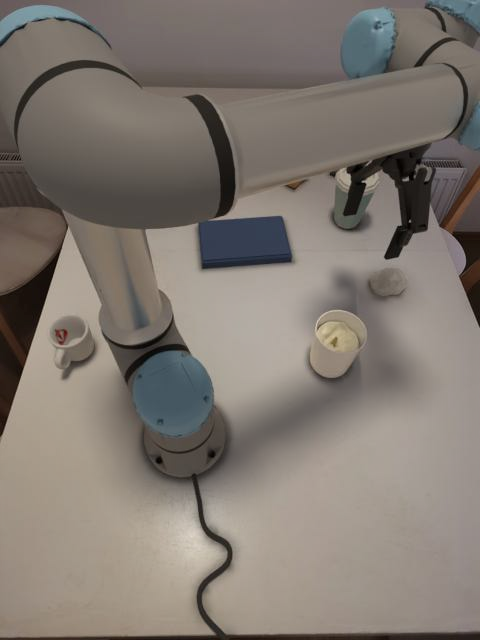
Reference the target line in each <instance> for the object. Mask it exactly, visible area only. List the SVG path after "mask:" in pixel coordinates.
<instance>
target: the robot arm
mask: <svg viewBox="0 0 480 640" xmlns="http://www.w3.org/2000/svg"><path fill="white" fill-rule="evenodd" d="M479 37H480V0H427V1H426V2H425V5H424V7H389V6H381V7H380V8H370V9H365V10H362V11H360V12H358V13H357V14H356V15H355V16H353V17H352V19H351V20H350V21H349V22H348V24H347V25H346V28H345V30H344V32H343V36H342V40H341V43H340V51H339V52H340V53H339V55H340V58H339V59H340V64H341V68H342V70H343V73H344V75H345V76H346V77H347V80H342V81H341V80H340V81H337V82H330V83H327V84H326V83H325V84H320V85H315V86H310V87H305V88H300V89H295V90H294V89H293V90H288V91H285V92H279V93H274V94H268V95H263V96H258V97H257V96H256V97H253V98H246V99H241V100H237V101H231V102H225V103H221V104H217V103H216V102H215V100H213V99H212V98H211V97H210V96H208V95H206V94H204V93H195V94H191V95H185V96H178V97H177V96H175V97H169V96H162V95H158V94H155V93H151V92H148V91H147V90H145V89H144V88H143V87H142V86H141V85H140V84H139V82H138V80H137V79H136V78H135V77H134V75H132V73H131V72H130V71H129V70H128V68H127V67H126V66H125V65H124V64H123V62H122V61H121V60H120V57H118V55H116V53H115V52H114V51H113V48H112V46H111V44H110V42H109V41H108V39H107V38H106V37H105V35H104V34H103V33H101V32H100V30H99V29H97V28H96V27H94V26H93V25H91V24H90V23H89V22H88V21H87V20H85V19H84V18H83V17H81V16H79V14H76V13H75V12H73V11H71V10H68V9H66V8H62V7H59V6H56V5H49V4H35V5H29V6H25V7H22V8H19V9H17V10H14V11H13V12H11V13H9V14H8V15H6V16H5V17H3V18H2V19H1V20H0V113H1V116H2V118H3V120H4V123H5V125H6V127H7V129H8V131H9V134H10V136H11V138H12V140H13V143H14V144H15V147H16V149H17V152H18V154H19V156H20V159H21V162H22V164H23V166H24V168H25V170H26V173H27V175H28V176H29V177H30V179H31V181H32V182H33V184H34V186H35V188H36V190H37V191H38V192H39V193H40V194H41V195H43V196H44V197H45V198H47V200H49V201H50V202H51V203H52V204H54V205H55V206H56V207H58V208H59V209H60V210H61V211H62V214H63V216H64V219H65V221H66V223H67V226H68V228H69V230H70V233H71V235H72V237H73V240H74V243H75V245H76V247H77V249H78V252H79V254H80V257H81V259H82V261H83V264H84V266H85V268H86V271H87V273H88V276H89V278H90V280H91V282H92V285H93V288H94V290H95V292H96V294H97V297H98V299H99V302H100V304H101V306H100V308H99V311H98V324H99V327H100V331H101V334H102V336H103V338H104V341H106V343H107V345H108V348H109V349H110V351H111V353H112V356H113V358H114V360H115V362H116V365H117V367H118V369H119V371H120V373H121V376H122V377H123V381H124V382H125V384H126V387H127V389H128V391H129V394H130V396H131V398H132V401H133V405H134V409H135V411H136V413H137V415H138V416H139V418H140V420H141V421H142V422H143V424H144V430H143V445H144V450H145V452H146V454H147V456H148V458H149V460H150V461H151V463H152V464H153V466H155V467H156V468H157V469H158V470H159V471H160V472H162V473H164V474H165V475H168V476H171V477H174V478H180V479H181V478H182V479H186V478H191V479H192V485H193V490H194V494H195V499H196V504H197V512H198V513H197V515H198V520H199V523H200V527H201V528H202V530H203V532H204V533H205V534H206V535H207V536H208V537H209V538H210V539H212V540H214V541H216V542H218V543H220V544H222V545H223V546H224V547H225V549H226V551H227V553H226V554H227V555H226V556H227V557H226V558H225V561H224V562H223V564H222V565H220V566H219V567H218V568H217V569H215V570H213V572H211V573H210V574H209V575H207V576H206V577H205V578H204V579H202V580H201V582H200V584H199V586H198V588H197V591H196V605H197V609H198V612H199V614H200V616H201V618H202V620H203V621H204V622H205V623H206V624H207V626H208V627H209V628H210V629H211V630H212V631H213V632H214V633H215V634H216V635H217V636H218V637H219V638H220V639H221V640H231V638H230V637H229V635H227V634H226V632H224V631H223V630H222V629H221V628H220V626H219V625H218V624H217V623H215V621H214V620H213V619H211V617H210V616H209V614H208V613H207V611H206V610H205V607H204V605H203V592H204V589H205V587H206V586H207V585H208V584H209V583H210V582H212V581H213V580H214V579H215V578H217V577H218V576H219V575H221V574H222V573H223V572H224V571H226V569H228V567H229V566H230V564H231V563H232V559H233V548H232V545H231V544H230V542H229V541H228V540H227V539H226V538H224V537H222V536H220V535H218V534H216V533H215V532H213V531H212V530H211V529H210V528H209V526H208V525H207V523H206V520H205V515H204V508H203V507H204V506H203V500H202V495H201V491H200V487H199V482H198V478H197V477H198V476H199V475H201V474H203V473H205V472H206V471H208V470H209V469H211V468H212V467H213V466H214V465H215V464H216V463H217V461H218V460H219V459H220V457H221V455H222V453H223V451H224V449H225V444H226V439H227V432H226V424H225V420H224V417H223V416H222V413H221V412H220V410H219V409H218V408H217V407H216V405H215V394H214V393H215V388H214V386H213V382H212V378H211V376H210V374H209V372H208V370H207V369H206V367H205V366H204V365H203V363H201V361H200V360H199V359H198V358H196V357H194V356H193V354H192V352H191V351H190V349H189V347H188V345H187V343H186V341H185V340H184V338H183V336H182V334H181V333H180V331H179V329H178V326H177V324H176V321H175V316H174V311H173V305H172V301H171V300H170V298H169V297H168V295H167V294H166V293H165V292H164V291H163V290H161V289H160V288H159V286H158V282H157V281H158V280H157V277H156V273H155V272H156V271H155V268H154V263H153V259H152V254H151V250H150V245H149V241H148V237H147V232H146V231H147V230H161V229H162V230H163V229H171V228H173V229H174V228H180V227H187V226H192V225H196V224H197V225H198V223H201V222H205V221H211V220H216V219H217V218H221V217H225V216H228V215H229V214H231V212H233V211H234V209H235V207H236V205H237V203H238V200H240V199H243V198H246V197H250V196H253V195H256V194H259V193H264V192H267V191H271V190H275V189H277V188H281V187H284V186H287V185H288V184H291V183H294V182H298V181H301V180H304V181H305V180H308V179H311V178H315V177H318V176H322V175H325V174H328V173H329V174H330V172H332V171H336V170H339V169H342V168H346V167H347V169H346V172H347V174H350V176H351V184H350V188H349V191H348V199H347V202H346V205H345V208H344V211H343V215H344V216H351V215H356V214H357V211H358V208H359V205H360V202H361V200H362V197H363V194H364V191H365V188H366V185H367V184H366V183H365V182H362V181H365V180H366V179H367V178H369V177H371V176H372V175H374V174H375V173H377V172H378V173H379V172H380V171H382V172H383V173H384V174H386V175H388V176H389V178H390V179H391V180H392V181H394V187H395V188H396V189H397V196H398V204H399V211H400V212H399V213H400V214H399V215H400V222H401V223H400V224H401V225H397V226H396V228H395V231H394V233H393V234H392V237H391V240H390V241H389V244H388V246H387V248H386V250H385V253H384V255H383V258H384V260H386V261H388V260H393V259H397V258H399V257H400V255H401V253H402V251H403V249H404V247H406V246H408V245H409V244H410V242H411V240H412V238H413V235H415V234H420V233H426V232H427V231H428V230H429V220H430V209H431V208H430V207H431V196H432V188H433V187H432V186H433V181H434V179H435V175H436V172H437V168H436V167H435V166H427V165H425V164H423V158H424V156H425V153H426V152H427V151H428V150H429V149H430V148H431V146H432V144H433V143H435V142H439V141H444V140H447V139H455V141H456V142H457V144H458V145H459V146H464V147H466V148H467V149H469V150H471V151H472V152H477V153H480V51H478V50H476V49H475V46H476V44H477V41H478V40H479ZM370 161H371V162H370ZM369 162H370V163H369ZM367 164H368V165H367ZM366 165H367V166H366ZM407 178H408V180H406V179H407ZM404 180H405V181H404Z"/></svg>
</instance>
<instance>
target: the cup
mask: <svg viewBox="0 0 480 640" xmlns="http://www.w3.org/2000/svg"><path fill="white" fill-rule="evenodd" d="M46 333H47V335H46V336H47V340H48V341H49V343H50V344H51V345H52V346H53V347H54V348H55V349H56V353H55V355H54V362H53V363H54V365H55V367H56V368H58V370H63V371H64V370H67V369H68V368H69V367H70V364H71V363H72V362H81V361H84V360H86V359H87V358H88V357H89V356H91V354H92V353H93V351H94V348H95V341H94V337H93V334H92V331H91V327H90V324H89V322H88V320H87V319H86V318H85V317H84V316H82V315H81V314H77V313H67V314H63V315H61V316H58V317H57V318H56V319H54V320H53V321H52V322H51V324H49V327H48V329H47V332H46Z"/></svg>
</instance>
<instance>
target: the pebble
mask: <svg viewBox="0 0 480 640" xmlns="http://www.w3.org/2000/svg"><path fill="white" fill-rule="evenodd" d="M368 280H369V282H370V288H371V290H372V291H373V292H374V294H375V295H377V296H379V297H387V296H391V295H392V296H394V295H396V296H397V295H399V294H401V293H402V291H404V290H405V289H406V288H407V285H408V283H407V279H406V273H405V272H404V271H403V270H402V269H400V268H397V267H385V268H382V269H381V270H378V271H376V272H373V273H372V274H371V275H370V276H369V277H368Z"/></svg>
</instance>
